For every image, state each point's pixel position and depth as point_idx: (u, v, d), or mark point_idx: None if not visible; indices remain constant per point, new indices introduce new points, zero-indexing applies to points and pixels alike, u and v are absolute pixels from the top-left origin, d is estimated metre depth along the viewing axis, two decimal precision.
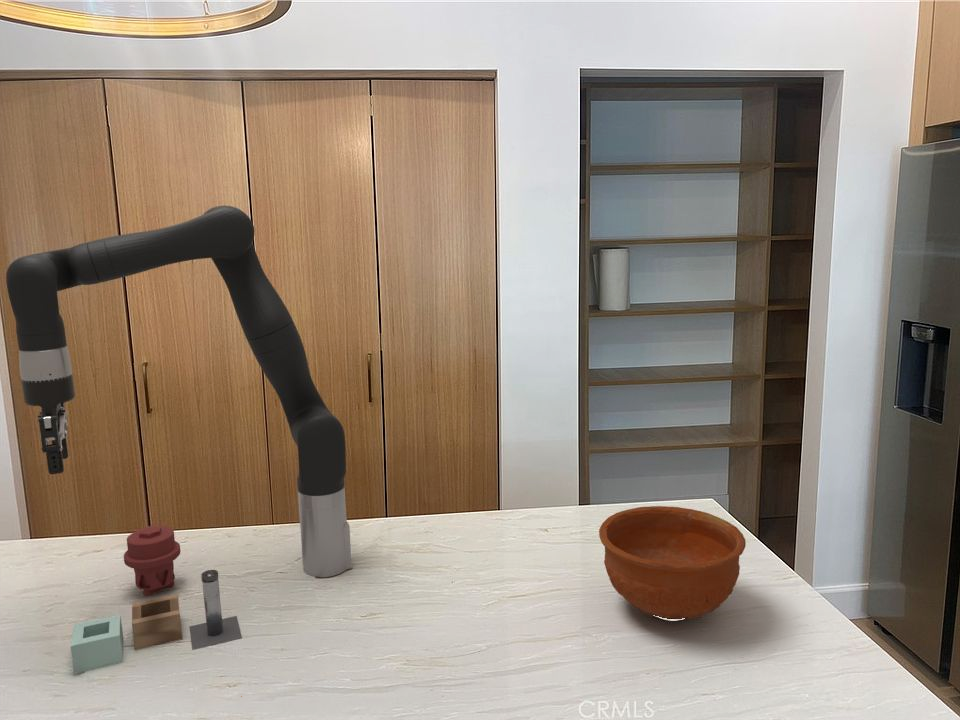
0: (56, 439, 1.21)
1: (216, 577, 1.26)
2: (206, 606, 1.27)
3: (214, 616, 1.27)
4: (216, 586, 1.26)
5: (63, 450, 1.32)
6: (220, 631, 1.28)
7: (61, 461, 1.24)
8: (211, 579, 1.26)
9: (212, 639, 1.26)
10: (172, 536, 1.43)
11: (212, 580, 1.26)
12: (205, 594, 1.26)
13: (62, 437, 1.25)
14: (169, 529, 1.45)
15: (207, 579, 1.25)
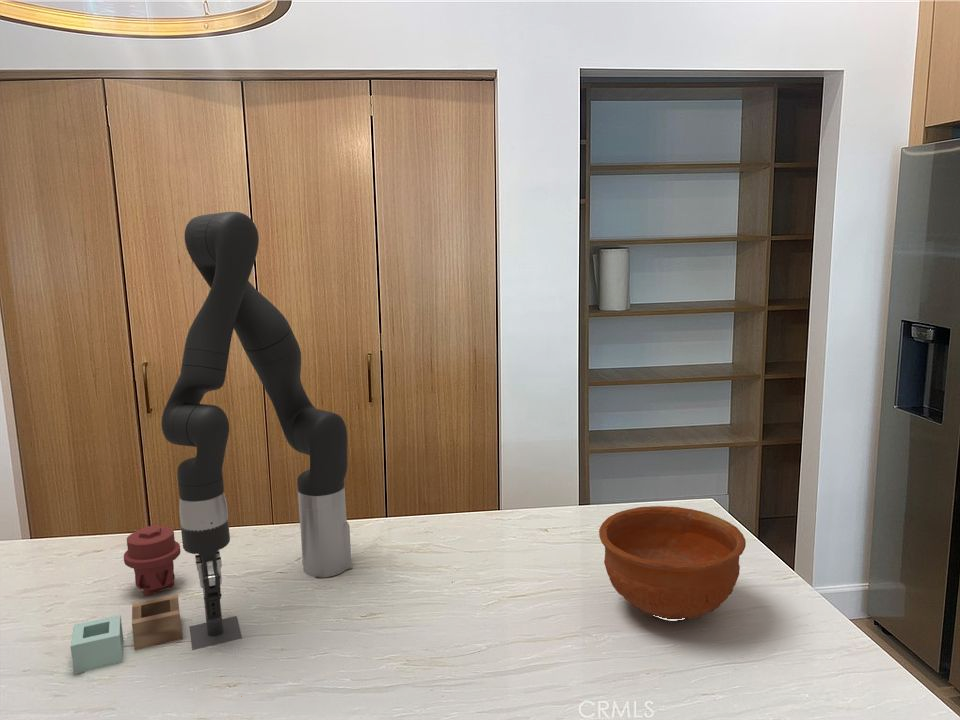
0: (219, 593, 1.23)
1: None
2: None
3: None
4: None
5: None
6: (220, 631, 1.28)
7: (219, 606, 1.26)
8: None
9: (212, 639, 1.26)
10: (172, 536, 1.43)
11: None
12: None
13: (220, 583, 1.26)
14: (169, 529, 1.45)
15: None
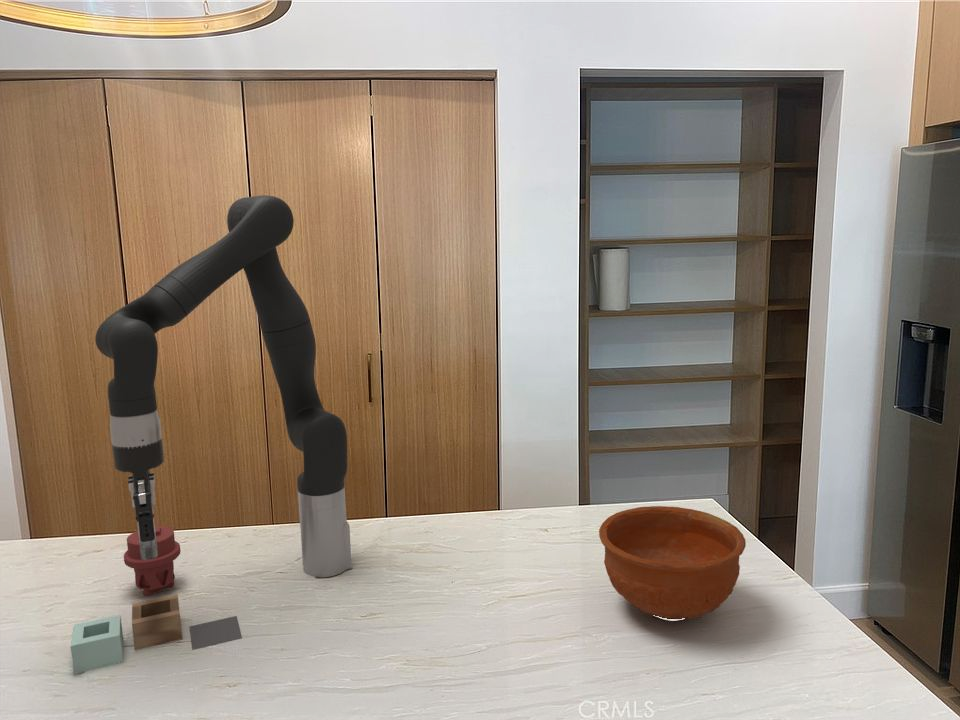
0: (150, 512, 1.20)
1: None
2: None
3: None
4: None
5: None
6: (154, 555, 1.25)
7: (152, 528, 1.24)
8: None
9: (212, 639, 1.26)
10: (172, 536, 1.43)
11: None
12: None
13: (153, 504, 1.23)
14: (169, 529, 1.45)
15: None
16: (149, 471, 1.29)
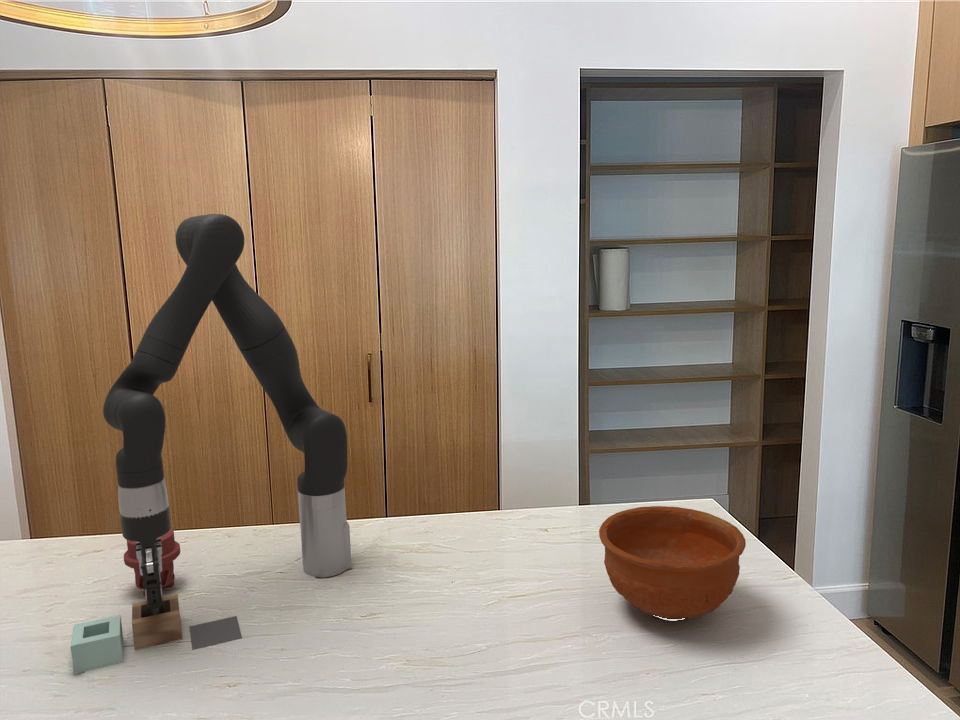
0: (158, 580, 1.22)
1: None
2: (146, 594, 1.26)
3: None
4: None
5: None
6: None
7: (160, 594, 1.26)
8: None
9: (212, 639, 1.26)
10: (172, 536, 1.43)
11: None
12: None
13: (160, 570, 1.25)
14: None
15: None
16: None
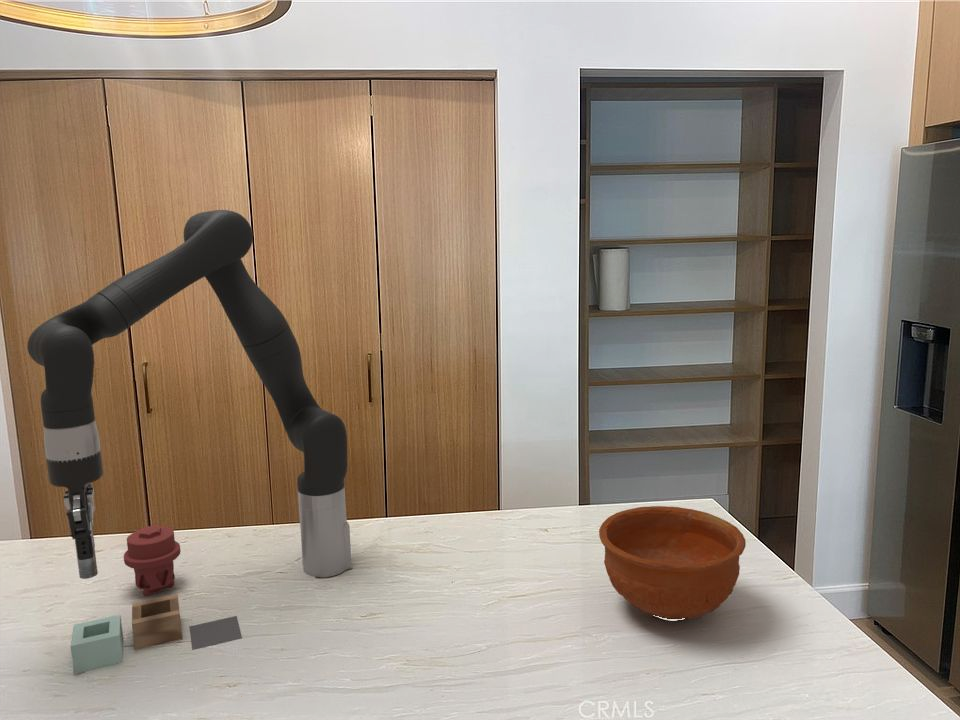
0: (86, 529, 1.14)
1: (87, 514, 1.17)
2: None
3: None
4: None
5: None
6: (93, 573, 1.19)
7: (91, 546, 1.17)
8: None
9: (212, 639, 1.26)
10: (172, 536, 1.43)
11: None
12: None
13: (91, 520, 1.17)
14: (169, 529, 1.45)
15: None
16: (90, 485, 1.23)
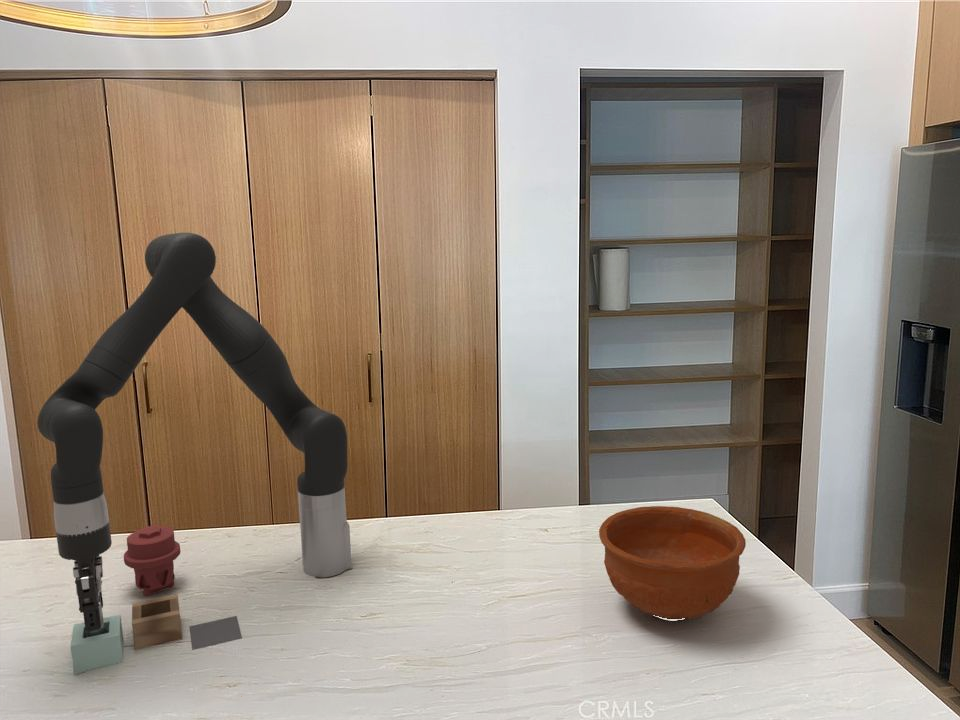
0: (94, 599, 1.14)
1: None
2: None
3: None
4: None
5: None
6: None
7: (98, 617, 1.18)
8: None
9: (212, 639, 1.26)
10: (172, 536, 1.43)
11: None
12: None
13: (99, 591, 1.18)
14: (169, 529, 1.45)
15: None
16: None
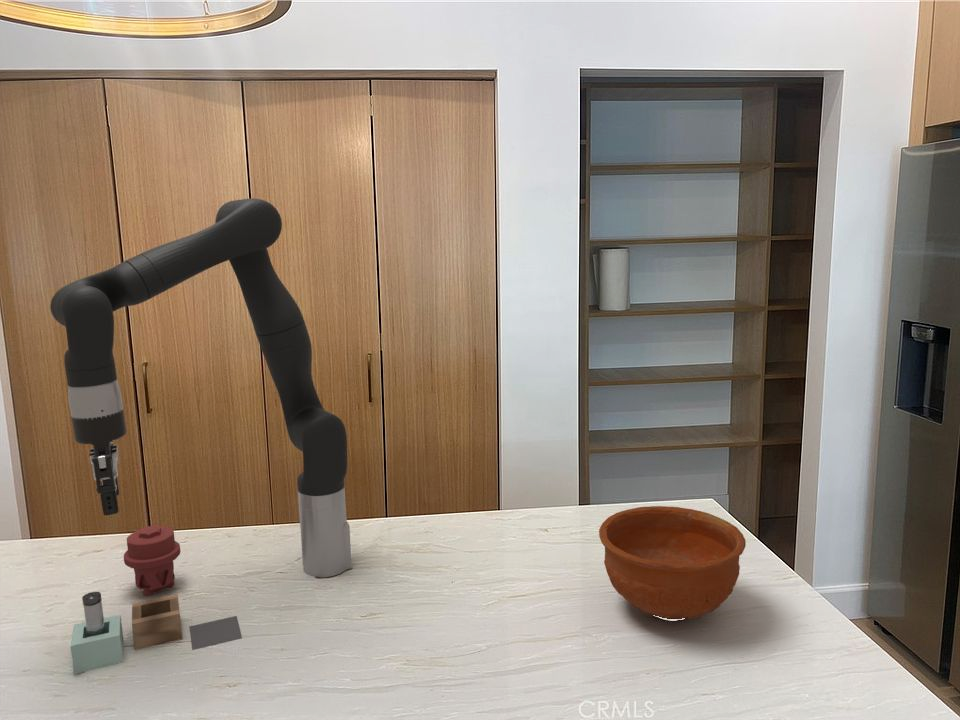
0: (111, 479, 1.15)
1: (98, 600, 1.20)
2: (88, 630, 1.20)
3: None
4: (98, 609, 1.20)
5: None
6: None
7: (116, 501, 1.18)
8: (92, 602, 1.19)
9: (212, 639, 1.26)
10: (172, 536, 1.43)
11: (93, 603, 1.19)
12: (86, 618, 1.20)
13: (116, 476, 1.18)
14: (169, 529, 1.45)
15: (88, 602, 1.19)
16: None
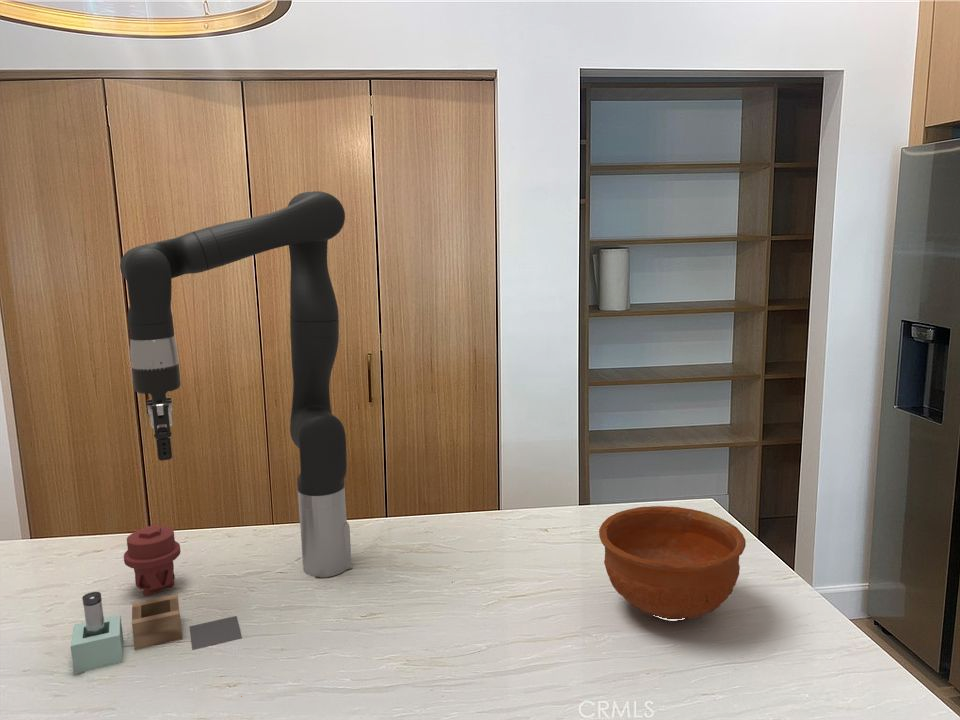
0: (168, 426, 1.24)
1: (98, 600, 1.20)
2: (88, 630, 1.20)
3: None
4: (98, 609, 1.20)
5: None
6: None
7: (170, 448, 1.28)
8: (92, 602, 1.19)
9: (212, 639, 1.26)
10: (172, 536, 1.43)
11: (93, 603, 1.19)
12: (86, 618, 1.20)
13: (171, 424, 1.28)
14: (169, 529, 1.45)
15: (88, 602, 1.19)
16: None
